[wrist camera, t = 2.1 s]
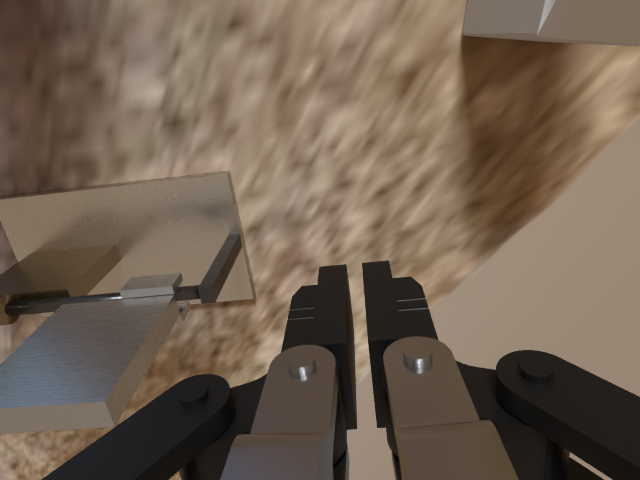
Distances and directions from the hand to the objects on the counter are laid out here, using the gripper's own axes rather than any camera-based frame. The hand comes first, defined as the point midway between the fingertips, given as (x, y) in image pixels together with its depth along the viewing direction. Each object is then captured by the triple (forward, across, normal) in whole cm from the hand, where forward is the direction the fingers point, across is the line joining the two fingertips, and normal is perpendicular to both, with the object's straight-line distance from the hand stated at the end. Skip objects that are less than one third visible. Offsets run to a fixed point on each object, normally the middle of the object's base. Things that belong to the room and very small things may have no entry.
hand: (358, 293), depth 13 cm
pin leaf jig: (+27, -21, -9) cm, 35 cm away
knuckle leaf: (+18, -17, -9) cm, 26 cm away
